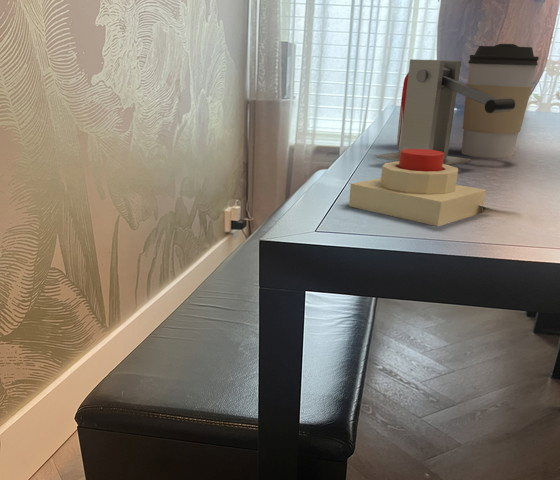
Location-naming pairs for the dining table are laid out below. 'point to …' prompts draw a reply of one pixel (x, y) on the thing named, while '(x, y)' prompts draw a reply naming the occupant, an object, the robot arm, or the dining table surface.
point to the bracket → (428, 109)
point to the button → (421, 160)
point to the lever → (477, 95)
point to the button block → (418, 195)
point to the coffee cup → (503, 85)
